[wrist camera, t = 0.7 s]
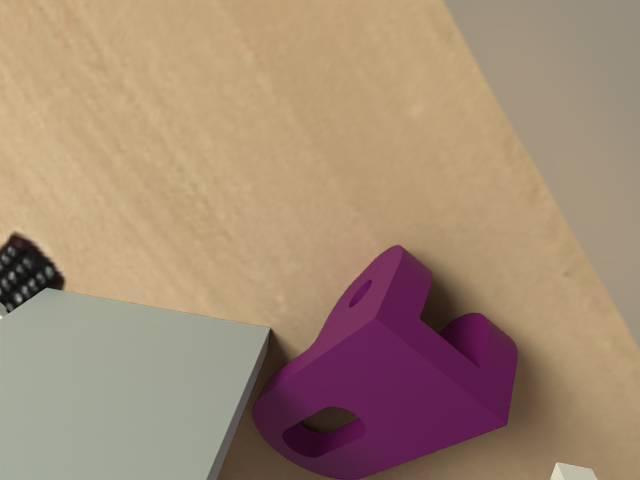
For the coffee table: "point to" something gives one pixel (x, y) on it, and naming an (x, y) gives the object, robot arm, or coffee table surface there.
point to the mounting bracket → (388, 378)
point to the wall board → (120, 389)
